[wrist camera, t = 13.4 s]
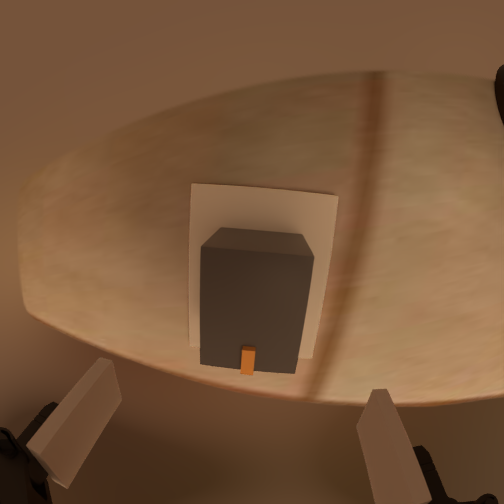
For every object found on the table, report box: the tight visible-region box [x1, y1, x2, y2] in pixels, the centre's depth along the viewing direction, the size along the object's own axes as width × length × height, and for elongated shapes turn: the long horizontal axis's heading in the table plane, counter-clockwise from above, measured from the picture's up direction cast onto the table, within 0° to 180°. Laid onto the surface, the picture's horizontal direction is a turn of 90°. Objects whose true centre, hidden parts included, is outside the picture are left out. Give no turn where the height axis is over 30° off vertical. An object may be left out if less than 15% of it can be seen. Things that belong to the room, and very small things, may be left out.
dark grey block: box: [200, 227, 315, 375], centre depth 24 cm, size 10×8×9 cm
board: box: [188, 183, 338, 359], centre depth 26 cm, size 18×14×7 cm
